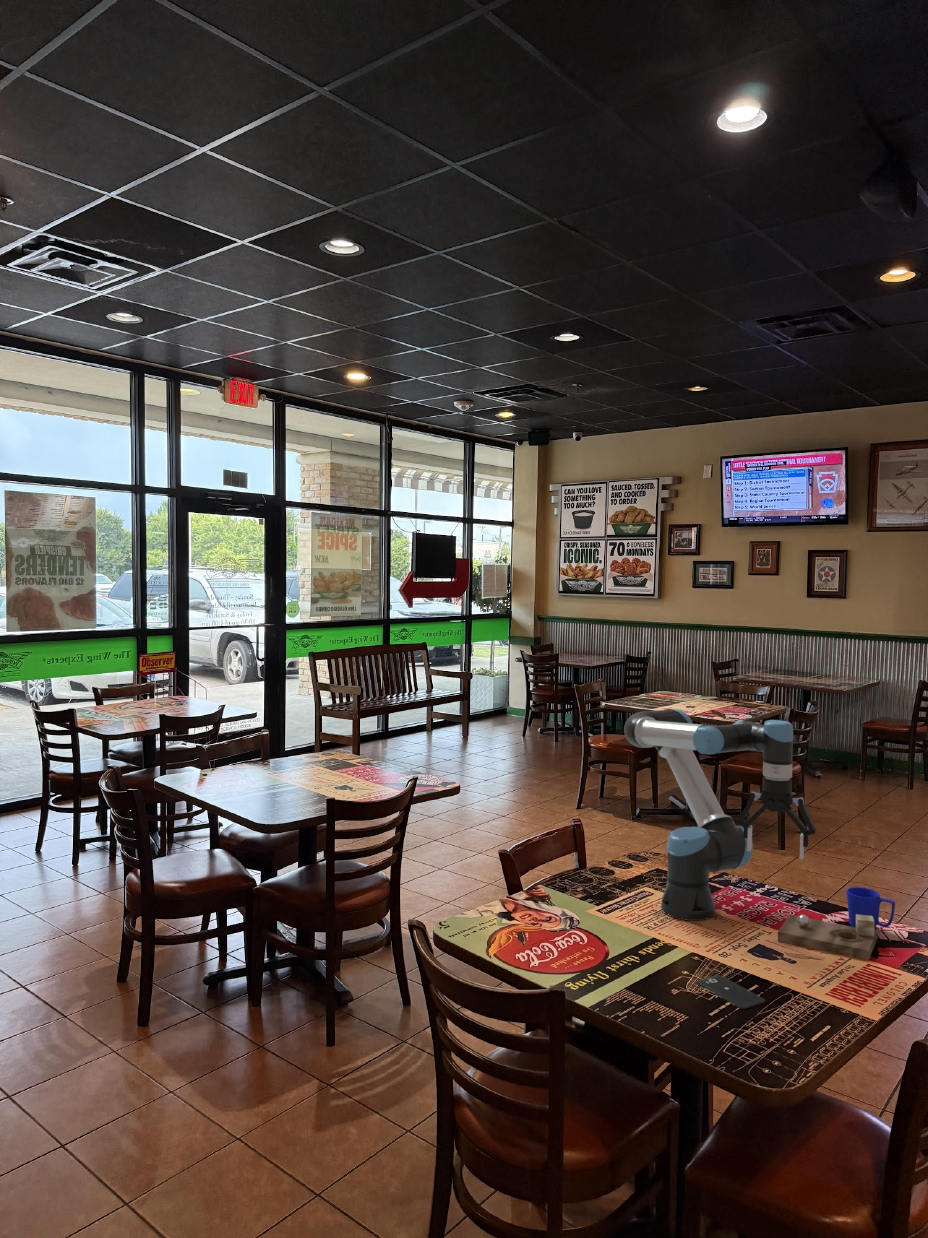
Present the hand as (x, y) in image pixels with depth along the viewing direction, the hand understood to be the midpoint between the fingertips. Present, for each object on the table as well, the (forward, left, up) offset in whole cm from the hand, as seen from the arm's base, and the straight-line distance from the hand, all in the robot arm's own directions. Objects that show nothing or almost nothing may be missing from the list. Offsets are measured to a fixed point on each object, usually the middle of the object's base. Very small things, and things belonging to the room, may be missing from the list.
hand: (775, 854), depth 234 cm
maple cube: (+22, +3, -18) cm, 29 cm away
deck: (+14, -1, -21) cm, 25 cm away
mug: (+22, +13, -21) cm, 33 cm away
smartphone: (0, -44, -21) cm, 49 cm away
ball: (+8, -1, -17) cm, 18 cm away
